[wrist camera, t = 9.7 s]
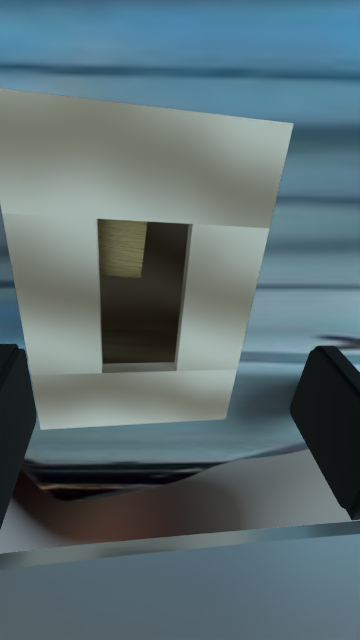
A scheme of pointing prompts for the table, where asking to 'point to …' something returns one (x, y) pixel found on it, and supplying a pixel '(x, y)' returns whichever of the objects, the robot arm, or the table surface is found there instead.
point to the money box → (158, 259)
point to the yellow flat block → (121, 247)
